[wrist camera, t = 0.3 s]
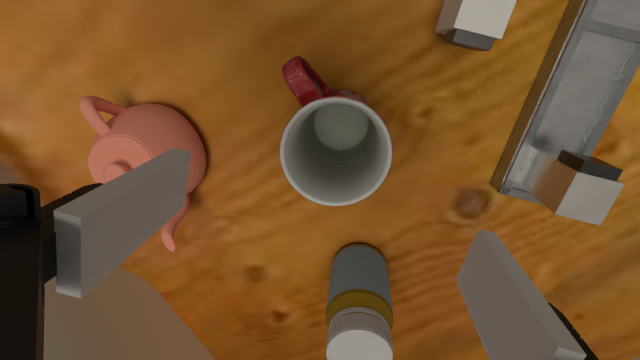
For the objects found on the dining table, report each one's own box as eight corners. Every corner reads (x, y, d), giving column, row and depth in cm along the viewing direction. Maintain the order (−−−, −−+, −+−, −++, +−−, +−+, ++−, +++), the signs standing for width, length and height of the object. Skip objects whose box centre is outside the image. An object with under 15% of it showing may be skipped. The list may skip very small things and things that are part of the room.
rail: (593, -53, 33) (693, -97, 23) (667, -35, 33) (801, -71, 23) (489, 183, 41) (530, 224, 31) (548, 198, 41) (608, 244, 31)
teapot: (164, 66, 41) (110, 71, 32) (243, 199, 45) (215, 235, 36) (87, 112, 44) (17, 128, 35) (168, 232, 48) (125, 273, 39)
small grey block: (448, -11, 35) (472, -28, 28) (487, -1, 35) (522, -15, 28) (430, 42, 37) (449, 39, 29) (468, 51, 37) (496, 51, 29)
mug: (395, 139, 41) (411, 179, 28) (325, 172, 43) (311, 223, 30) (346, 34, 37) (339, 26, 25) (273, 76, 40) (233, 87, 27)
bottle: (357, 231, 45) (357, 312, 31) (397, 264, 46) (414, 357, 32) (322, 264, 47) (306, 354, 33) (360, 295, 48) (361, 395, 34)
